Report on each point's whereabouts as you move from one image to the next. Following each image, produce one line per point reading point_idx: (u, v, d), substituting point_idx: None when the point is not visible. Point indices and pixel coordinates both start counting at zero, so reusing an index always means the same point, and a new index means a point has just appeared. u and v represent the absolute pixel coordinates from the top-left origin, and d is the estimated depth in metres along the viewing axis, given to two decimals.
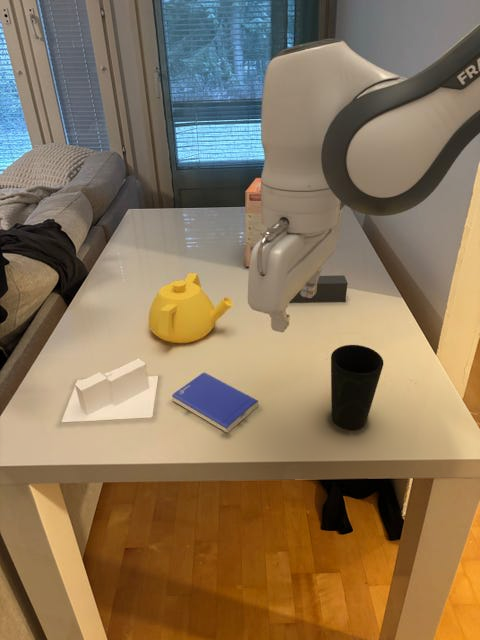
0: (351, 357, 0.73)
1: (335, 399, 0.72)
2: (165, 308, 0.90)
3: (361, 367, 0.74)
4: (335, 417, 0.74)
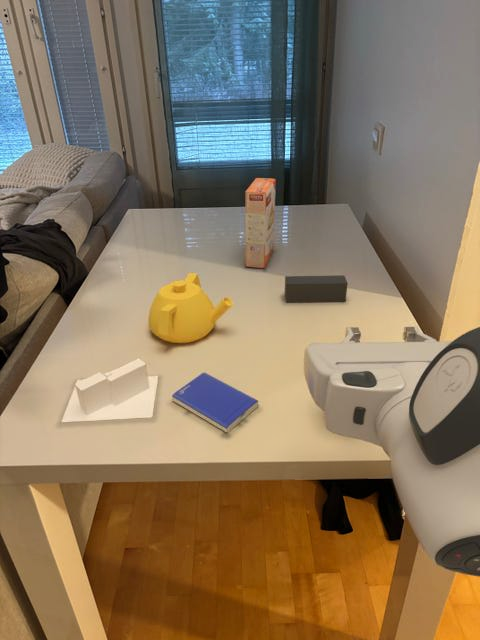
0: None
1: None
2: (165, 308, 0.90)
3: None
4: None
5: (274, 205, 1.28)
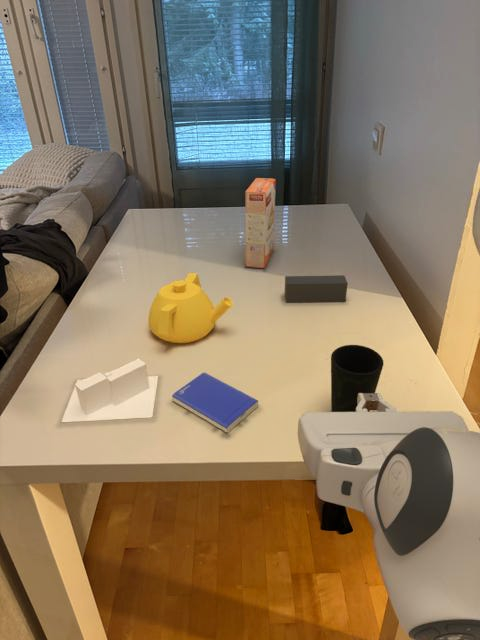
0: (351, 357, 0.73)
1: (335, 399, 0.72)
2: (165, 308, 0.90)
3: (361, 367, 0.74)
4: None
5: (274, 205, 1.28)
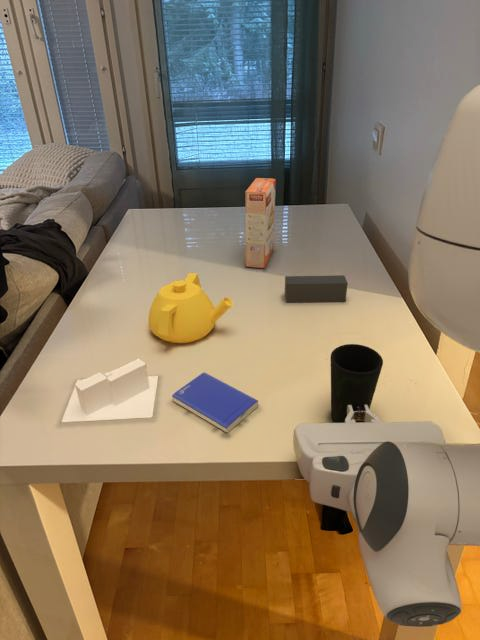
0: (351, 357, 0.74)
1: (334, 398, 0.72)
2: (165, 308, 0.90)
3: (361, 367, 0.74)
4: (335, 416, 0.74)
5: (274, 205, 1.28)
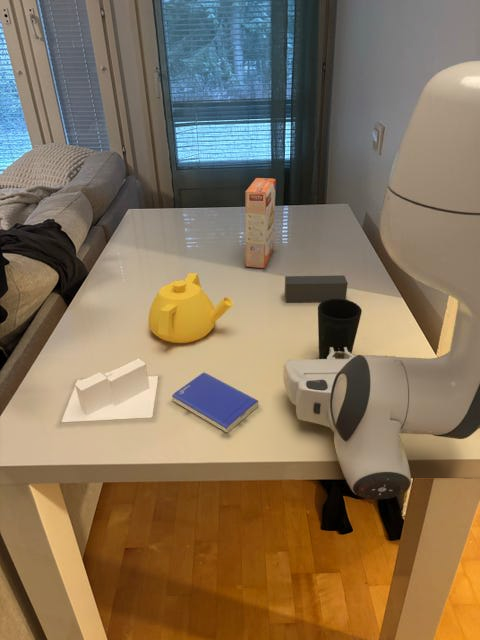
0: (338, 310, 0.86)
1: (320, 343, 0.85)
2: (165, 308, 0.90)
3: (346, 319, 0.86)
4: None
5: (274, 205, 1.28)
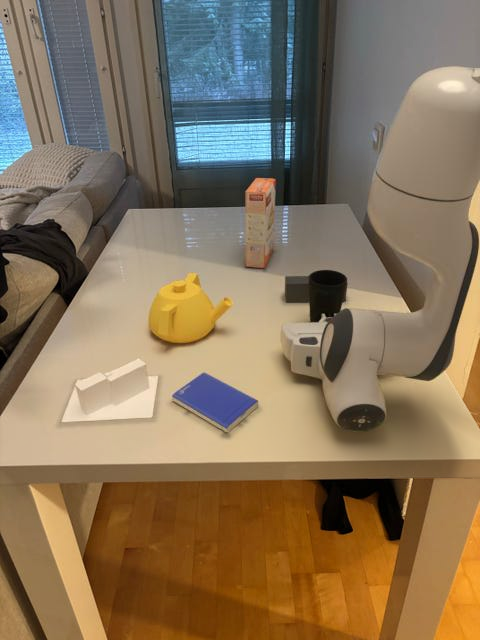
0: (327, 280, 0.97)
1: (311, 309, 0.96)
2: (165, 308, 0.90)
3: None
4: None
5: (274, 205, 1.28)
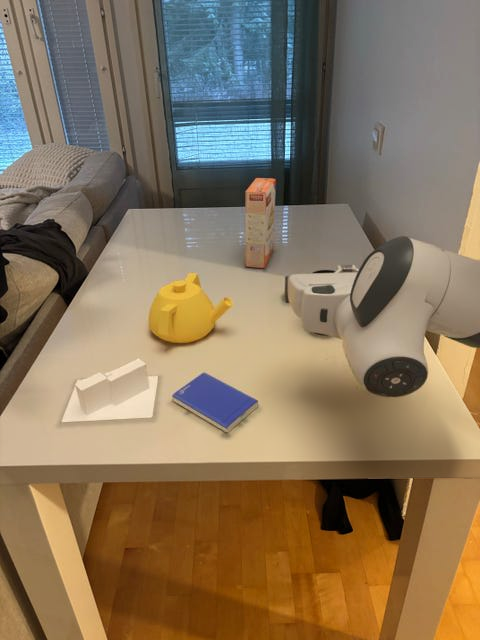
0: None
1: None
2: (165, 308, 0.90)
3: None
4: None
5: (274, 205, 1.28)
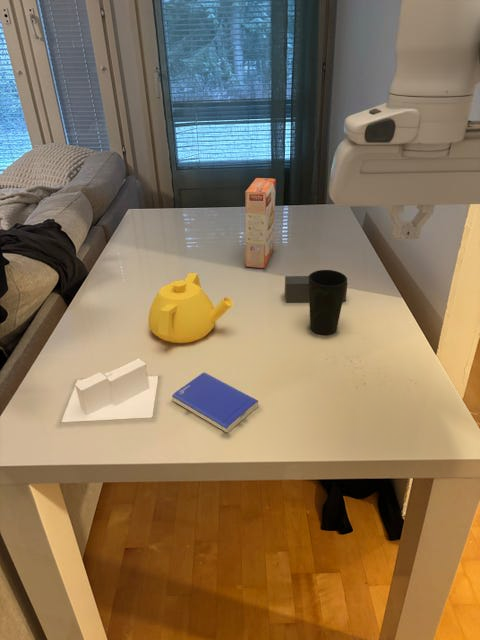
0: (327, 280, 0.97)
1: (311, 309, 0.96)
2: (165, 308, 0.90)
3: None
4: (311, 325, 0.98)
5: (274, 205, 1.28)
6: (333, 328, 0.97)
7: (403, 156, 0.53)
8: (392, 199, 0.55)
